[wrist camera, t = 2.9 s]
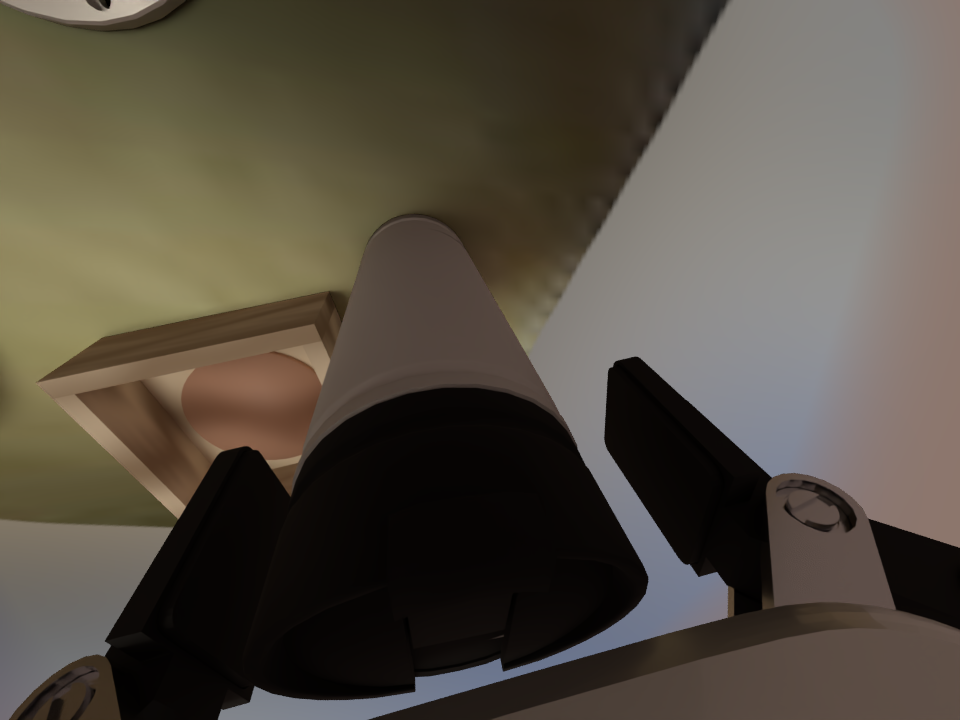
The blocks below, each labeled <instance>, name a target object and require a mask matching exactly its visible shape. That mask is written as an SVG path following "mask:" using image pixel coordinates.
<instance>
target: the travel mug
mask: <svg viewBox="0 0 960 720" xmlns="http://www.w3.org/2000/svg"><path fill="white" fill-rule="evenodd" d="M647 585H648V576H647V573H646V571H645V568H644V566H643V564H642V562H641V560H640V559H639V557H638V555H637V553H636V552H635V550H634V548H633V546H632V545H631V543H630V541H629V539H628V538H627V536H626V534H625V532H624V530H623V529H622V527H621V525H620V523H619V522H618V520H617V518H616V516H615V515H614V513H613V511H612V509H611V507H610V506H609V504H608V502H607V500H606V499H605V497H604V495H603V493H602V491H601V490H600V488H599V486H598V484H597V483H596V481H595V479H594V477H593V475H592V474H591V472H590V470H589V469H588V468H587V467H586V466H585V463H584V461H583V459H582V457H581V455H580V453H579V451H578V449H577V444H576V442H575V440H574V438H573V436H572V434H571V432H570V430H569V428H568V426H567V424H566V422H565V421H564V419H563V417H562V416H561V415H560V414H559V412H558V410H557V408H556V405H555V404H554V402H553V400H552V398H551V396H550V395H549V393H548V391H547V390H546V388H545V386H544V384H543V383H542V381H541V379H540V377H539V376H538V374H537V372H536V370H535V369H534V367H533V365H532V364H531V362H530V360H529V358H528V356H527V355H526V353H525V351H524V350H523V348H522V346H521V344H520V343H519V341H518V339H517V337H516V336H515V334H514V332H513V330H512V329H511V327H510V325H509V324H508V322H507V320H506V318H505V317H504V315H503V313H502V311H501V310H500V308H499V306H498V304H497V303H496V301H495V299H494V298H493V296H492V294H491V292H490V291H489V289H488V287H487V285H486V284H485V282H484V280H483V278H482V277H481V275H480V273H479V271H478V270H477V268H476V266H475V265H474V263H473V261H472V259H471V258H470V256H469V254H468V252H467V251H466V249H465V247H464V246H463V244H462V242H461V240H460V239H459V237H458V236H457V235H456V234H455V232H454V231H453V230H452V229H450V228H449V227H448V226H447V225H446V224H444V223H443V222H441V221H439V220H437V219H435V218H432V217H429V216H426V215H418V214H410V215H402V216H399V217H396V218H393V219H391V220H389V221H387V222H386V223H384V224H382V225H381V226H380V227H379V228H378V229H377V230H376V231H375V232H374V233H373V235H372V236H371V238H370V239H369V241H368V243H367V246H366V248H365V251H364V254H363V258H362V261H361V264H360V267H359V270H358V273H357V277H356V280H355V283H354V286H353V289H352V292H351V296H350V299H349V302H348V305H347V308H346V312H345V315H344V318H343V321H342V324H341V328H340V331H339V334H338V337H337V340H336V343H335V347H334V350H333V353H332V356H331V359H330V363H329V366H328V369H327V372H326V375H325V379H324V382H323V385H322V388H321V391H320V394H319V398H318V401H317V404H316V407H315V410H314V414H313V417H312V420H311V423H310V426H309V429H308V433H307V436H306V439H305V442H304V445H303V451H302V456H301V458H300V460H299V462H298V465H297V468H296V471H295V474H294V477H293V483H292V492H291V498H290V501H289V505H288V513H287V518H286V520H285V522H284V524H283V527H282V529H281V531H280V534H279V537H278V541H277V544H276V547H275V551H274V554H273V557H272V560H271V564H270V567H269V570H268V574H267V577H266V580H265V583H264V587H263V590H262V593H261V597H260V600H259V603H258V607H257V610H256V613H255V616H254V620H253V623H252V626H251V630H250V633H249V636H248V639H247V643H246V646H245V649H244V653H243V656H242V660H243V672H244V675H245V676H246V677H247V679H248V680H249V681H250V682H251V683H252V684H253V685H254V686H256V687H258V688H261V689H263V690H265V691H267V692H270V693H272V694H277V695H282V696H286V697H292V698H299V699H312V700H353V699H368V698H378V697H385V696H391V695H397V694H404V693H410V692H415V677H424V676H434V675H439V674H445V673H450V672H455V671H460V670H464V669H468V668H471V667H475V666H479V665H483V664H487V663H489V662H492V661H494V660H497V659H499V658H500V659H501V664H502V669H503V671H507V670H510V669H513V668H517V667H520V666H523V665H526V664H530V663H532V662H536V661H539V660H542V659H544V658H547V657H549V656H552V655H555V654H557V653H559V652H562V651H564V650H567V649H569V648H571V647H573V646H575V645H577V644H580V643H582V642H584V641H586V640H588V639H590V638H592V637H593V636H595V635H597V634H599V633H601V632H602V631H604V630H606V629H608V628H609V627H611V626H612V625H614V624H615V623H617V622H618V621H619V620H621V619H622V618H624V617H625V616H626V615H627V614H628V613H629V612H630V611H632V610H633V609H634V608H635V607H636V606H637V605H638V604H639V602H640V601H641V599H642V598H643V597H644V595H645V594H646V589H647Z"/></svg>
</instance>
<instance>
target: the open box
mask: <svg viewBox="0 0 960 720" xmlns="http://www.w3.org/2000/svg"><path fill="white" fill-rule="evenodd" d="M341 324H342V322H341V320H340V317H339V315H338V312H337V310H336V307H335V305H334V302H333V300H332V297H331V295H330V292H329V291H328V292H323V293H319V294H314V295H309V296H304V297H299V298H294V299H289V300H284V301H279V302H275V303H270V304H265V305H260V306H255V307H250V308H245V309H240V310H236V311H231V312H226V313H221V314H216V315H211V316H206V317H201V318H197V319H192V320H187V321H182V322H177V323H172V324H167V325H162V326H157V327H153V328H148V329H143V330H138V331H133V332H128V333H123V334H118V335H114V336H109V337H104V338H101V339H100V340H98V341H97V342H95V343H94V344H92V345H91V346H89V347H88V348H86V349H85V350H83V351H82V352H80V353H79V354H77V355H76V356H74V357H73V358H72V359H70V360H69V361H67V362H66V363H64V364H63V365H61V366H60V367H58V368H57V369H55V370H54V371H52V372H51V373H49V374H48V375H46V376H45V377H43V378H42V379H40V380H39V381H38V382H36V384H37V385H38V386H39V387H40V388H41V389H43V390H44V391H45V392H46V393H47V394H48V395H49V396H50V397H51V398H52V399H53V400H54V401H55V402H56V403H57V404H58V405H59V406H60V407H61V408H62V409H63V410H65V411H66V412H67V413H68V414H69V415H70V416H71V417H72V418H73V419H74V420H75V421H76V422H77V423H78V424H79V425H80V426H81V427H82V428H83V429H84V430H86V431H87V432H88V433H89V434H90V435H91V436H92V437H93V438H94V439H95V440H96V441H97V442H98V443H99V444H100V445H101V446H102V447H103V448H104V449H105V450H106V451H108V452H109V453H110V454H111V455H112V456H113V457H114V458H115V459H116V460H117V461H118V462H119V463H120V464H121V465H122V466H123V467H124V468H125V469H126V470H127V471H129V472H130V473H131V474H132V475H133V476H134V477H135V478H136V479H137V480H138V481H139V482H140V483H141V484H142V485H143V486H144V487H145V488H146V489H147V490H148V491H149V492H151V493H152V494H153V495H154V496H155V497H156V498H157V499H158V500H159V501H160V502H161V503H162V504H163V505H164V506H165V507H166V508H167V509H168V510H169V511H170V512H172V513H173V514H174V515H175V516H176V517H177V518H178V519H179V518H180V516H181V514H182V513H183V511H184V509H185V508H186V506H187V504H188V503H189V501H190V499H191V498H192V496H193V494H194V493H195V491H196V490H197V488H198V486H199V485H200V483H201V481H202V480H203V478H204V476H205V475H206V473H207V471H208V470H209V468H210V466H211V465H212V463H213V461H214V460H215V458H216V456H217V455H218V454H219V453H220V452H222V451H226V450H230V449H234V448H239V447H243V446H249V447H251V448H252V449H253V450H258V451H259V452H260V453H261V454H262V456H263V457H264V459H265V460H266V462H267V463H268V464H269V466H270V467H271V469H272V470H273V472H274V473H275V475H276V476H277V478H278V479H279V481H280V482H281V483H282V485H283V486H284V488H285V489H286V491H287V492H288V494H289V495H290V497H291V492H292V483H293V477H294V474H295V471H296V468H297V465H298V462H299V460H300V458H301V456H302V451H303V445H304V442H305V439H306V436H307V433H308V429H309V426H310V423H311V420H312V417H313V414H314V410H315V407H316V404H317V401H318V398H319V394H320V391H321V388H322V385H323V382H324V379H325V375H326V372H327V369H328V366H329V363H330V359H331V356H332V353H333V350H334V347H335V343H336V340H337V337H338V334H339V331H340V328H341Z"/></svg>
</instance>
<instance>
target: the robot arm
mask: <svg viewBox="0 0 960 720" xmlns="http://www.w3.org/2000/svg"><path fill="white" fill-rule="evenodd" d="M185 1H186V0H111V5H110V8H109V7H108V6H107V4H106V1H105V0H0V3H1V4H3V5H5V6H8V7H10V8H13V9H15V10H18V11H20V12H23V13H25V14H27V15H31V16H34V17H37V18H41V19H44V20H47V21H51V22H54V23H57V24H60V25H64V26H69V27H76V28H84V29H91V30H98V31H109V30H121V29H134V28H137V27H140V26H142V25H145V24H148V23H151V22H154V21H156V20H159V19H162V18H163V17H165V16H166V15H167V14H169V13H170V12H171V11H173V10H174V9H175V8H177V7H178V6H179V5H181V4H182V3H183V2H185ZM604 440H605V444H606V447H607V450H608V451H609V453H610V455H611V456H612V458H613V459H614V460H615V462H616V463H617V465H618V467H619V468H620V470H621V471H622V473H623V474H624V476H625V477H626V479H627V480H628V482H629V483H630V485H631V486H632V488H633V489H634V491H635V492H636V494H637V495H638V497H639V499H640V500H641V502H642V503H643V505H644V506H645V508H646V509H647V510H648V512H649V514H650V515H651V517H652V518H653V520H654V521H655V523H656V524H657V526H658V527H659V529H660V530H661V532H662V533H663V535H664V536H665V538H666V539H667V541H668V543H669V544H670V546H671V547H672V549H673V550H674V552H675V553H676V555H677V556H678V558H679V559H680V560H681V561H682V562H683V563H684V564H687V565H688V564H690V565H691V566H692V568H693V569H694V571H695V572H696V574H697V575H698V577H700V576H703V575H707V574H711V573H714V572H718V574H719V575H720V577H721V578H722V579H723V581H724V582H725V583H726V585H728V618H725V619H722V620H718V621H714V622H710V623H706V624H702V625H699V626H695V627H691V628H687V629H683V630H679V631H676V632H672V633H668V634H665V635H661V636H657V637H654V638H651V639H647V640H643V641H640V642H637V643H633V644H629V645H626V646H622V647H619V648H616V649H612V650H608V651H605V652H601V653H598V654H594V655H590V656H587V657H583V658H580V659H577V660H573V661H569V662H566V663H562V664H559V665H555V666H552V667H549V668H545V669H541V670H538V671H534V672H531V673H528V674H524V675H521V676H517V677H514V678H510V679H507V680H503V681H500V682H496V683H493V684H489V685H486V686H482V687H479V688H476V689H472V690H469V691H465V692H462V693H458V694H455V695H451V696H448V697H444V698H441V699H438V700H434V701H431V702H427V703H424V704H420V705H417V706H413V707H410V708H407V709H403V710H400V711H396V712H393V713H390V714H386V715H383V716H379V717H376V718H373V719H369V720H960V548H958V547H955V546H952V545H949V544H946V543H943V542H940V541H936V540H933V539H930V538H927V537H924V536H921V535H918V534H915V533H912V532H908V531H905V530H902V529H899V528H896V527H893V526H890V525H887V524H883V523H880V522H877V521H874V520H871V519H868V518H867V516H866V514H865V512H864V510H863V508H862V507H861V506H860V505H859V504H858V503H857V502H856V501H855V500H854V499H853V498H852V497H851V496H849V495H848V494H847V493H845V492H844V491H842V490H841V489H840V488H838V487H836V486H834V485H832V484H830V483H828V482H826V481H824V480H821V479H818V478H815V477H812V476H809V475H803V474H796V473H789V474H781V475H778V476H775V477H773V478H772V477H770V476H769V475H768V474H767V473H766V472H765V471H764V470H763V469H762V468H761V467H759V466H758V465H757V464H756V463H755V462H754V461H753V460H752V459H750V458H749V456H747V455H746V454H745V453H744V452H743V451H742V450H741V449H740V448H739V447H738V446H736V445H735V444H734V443H733V442H732V441H731V440H730V439H729V438H728V437H727V436H725V435H724V434H723V433H722V432H721V431H720V430H719V429H718V428H717V427H716V426H715V425H713V424H712V423H711V422H710V421H709V420H708V419H707V418H706V417H705V416H704V415H702V414H701V413H700V412H699V411H698V410H697V409H696V408H695V407H693V406H692V404H690V403H689V402H688V401H687V400H685V399H684V398H683V397H682V396H681V395H680V394H678V393H677V392H676V391H675V390H674V389H673V388H672V387H671V386H670V385H669V384H668V383H667V382H666V381H664V380H663V379H662V378H661V377H660V376H659V375H658V374H657V373H656V372H655V371H654V370H652V369H651V368H650V367H649V366H648V365H647V364H646V363H645V362H644V361H643V360H641V359H640V358H639V357H631V358H627V359H623V360H618V361H616V362H615V363H614V365H613V367H612V368H609V370H608V382H607V401H606V417H605V437H604ZM290 498H291V497H290V495H289V494H288V492H287V491H286V489H285V488H284V486H283V485H282V483H281V482H280V481H279V479H278V478H277V476H276V475H275V473H274V472H273V470H272V469H271V467H270V466H269V464H268V463H267V462H266V460H265V459H264V457H263V456H262V454H261V453H260V452H259V451H258V450H253V449H252V448H251V447H249V446H243V447H239V448H234V449H230V450H226V451H222V452H220V453H219V454H218V455H217V456H216V458H215V460H214V461H213V463H212V465H211V466H210V468H209V470H208V471H207V473H206V475H205V476H204V478H203V480H202V481H201V483H200V485H199V486H198V488H197V490H196V491H195V493H194V494H193V496H192V498H191V499H190V501H189V503H188V504H187V506H186V508H185V509H184V511H183V513H182V514H181V516H180V518H179V519H178V521H177V523H176V524H175V526H174V528H173V529H172V531H171V533H170V534H169V536H168V538H167V539H166V541H165V542H164V544H163V546H162V547H161V549H160V551H159V553H158V554H157V556H156V557H155V559H154V561H153V562H152V564H151V565H150V567H149V569H148V570H147V573H146V574H145V575H144V577H143V579H142V580H141V582H140V584H139V585H138V587H137V589H136V590H135V592H134V594H133V595H132V597H131V599H130V600H129V602H128V603H127V605H126V607H125V608H124V610H123V612H122V613H121V615H120V617H119V619H118V620H117V622H116V623H115V625H114V627H113V628H112V630H111V632H110V633H109V635H108V637H107V638H106V640H105V642H107V643H109V644H110V645H111V647H110V648H109V650H108V652H107V653H106V655H105V657H104V656H101V655H92V656H86V657H83V658H81V659H79V660H77V661H75V662H72V663H70V664H68V665H67V666H65V667H64V668H62V669H61V670H59V671H58V672H56V673H55V674H53V675H52V676H51V677H49V679H47V680H46V681H45V682H44V683H42V684H41V685H40V686H39V687H38V688H37V689H36V690H34V691H33V692H32V693H31V695H29V697H28V698H27V699H26V700H25V701H24V702H23V703H22V704H21V705H20V706H19V707H18V708H17V710H16V711H15V712H14V713H13V715H12V716H11V718H10V719H9V720H218V717H219V714H220V711H221V709H223V710H224V709H228V708H232V707H235V706H238V705H242V704H246V703H249V702H250V700H251V696H252V692H253V689H254V685H253V684H252V683H251V682H250V681H249V680H248V679H247V677H246V676H245V675H244V672H243V660H242V656H243V653H244V649H245V646H246V643H247V639H248V636H249V633H250V630H251V626H252V623H253V620H254V616H255V613H256V610H257V607H258V603H259V600H260V597H261V593H262V590H263V587H264V583H265V580H266V577H267V574H268V570H269V567H270V564H271V560H272V557H273V554H274V551H275V547H276V544H277V541H278V537H279V534H280V531H281V529H282V527H283V524H284V522H285V520H286V518H287V513H288V505H289V501H290Z"/></svg>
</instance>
